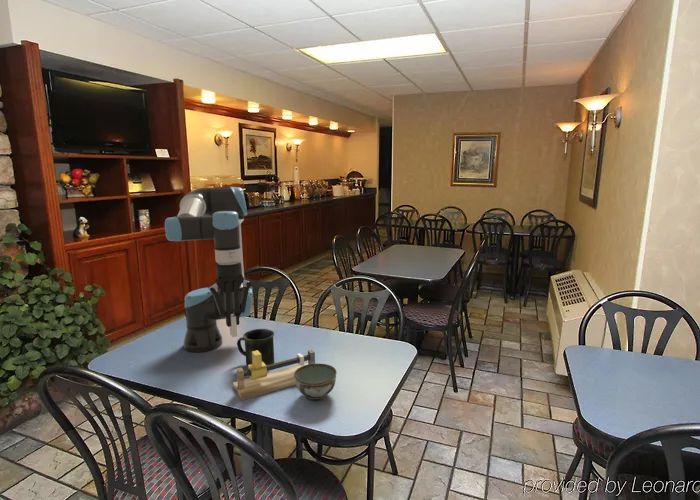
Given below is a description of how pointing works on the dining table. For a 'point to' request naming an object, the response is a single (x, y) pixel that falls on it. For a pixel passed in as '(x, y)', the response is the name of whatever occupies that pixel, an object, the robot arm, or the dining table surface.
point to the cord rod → (280, 364)
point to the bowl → (315, 380)
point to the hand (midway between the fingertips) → (233, 335)
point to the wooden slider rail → (267, 380)
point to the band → (301, 359)
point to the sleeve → (257, 366)
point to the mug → (258, 345)
